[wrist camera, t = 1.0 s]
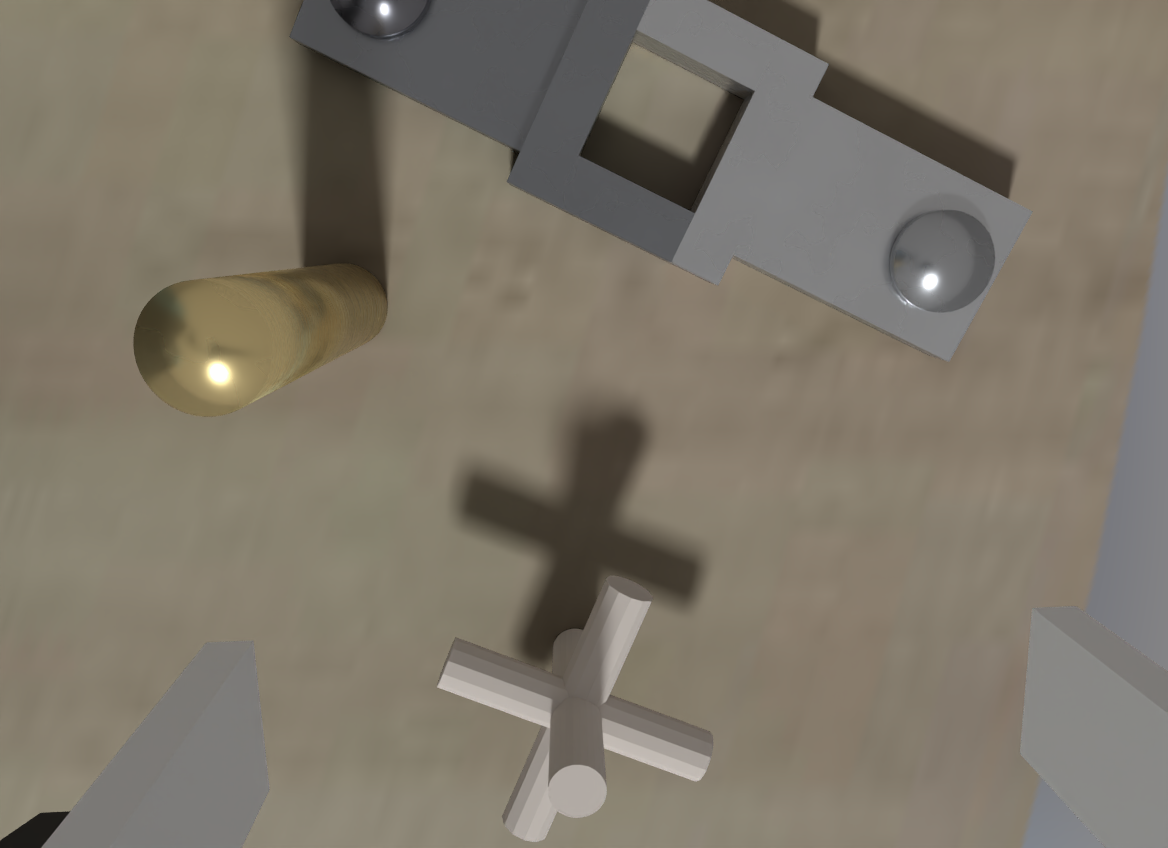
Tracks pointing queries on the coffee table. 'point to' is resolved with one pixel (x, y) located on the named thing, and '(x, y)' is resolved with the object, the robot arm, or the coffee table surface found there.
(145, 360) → the pin
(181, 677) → the robot arm
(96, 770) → the coffee table surface
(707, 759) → the pipe connector
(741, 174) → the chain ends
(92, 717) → the coffee table surface
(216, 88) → the coffee table surface
